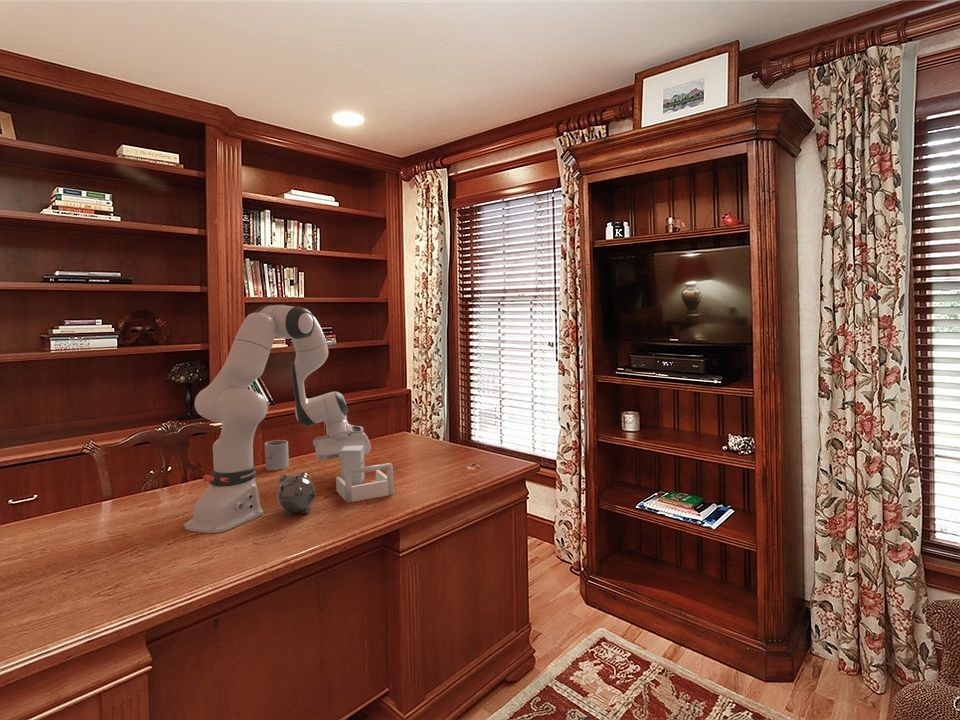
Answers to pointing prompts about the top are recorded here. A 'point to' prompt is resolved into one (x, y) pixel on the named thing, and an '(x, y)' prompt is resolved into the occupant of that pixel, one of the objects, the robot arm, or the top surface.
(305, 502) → the piggy bank
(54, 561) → the top surface
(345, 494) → the frame
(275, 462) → the printed ceramic cup
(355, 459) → the supplement box
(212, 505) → the robot arm
